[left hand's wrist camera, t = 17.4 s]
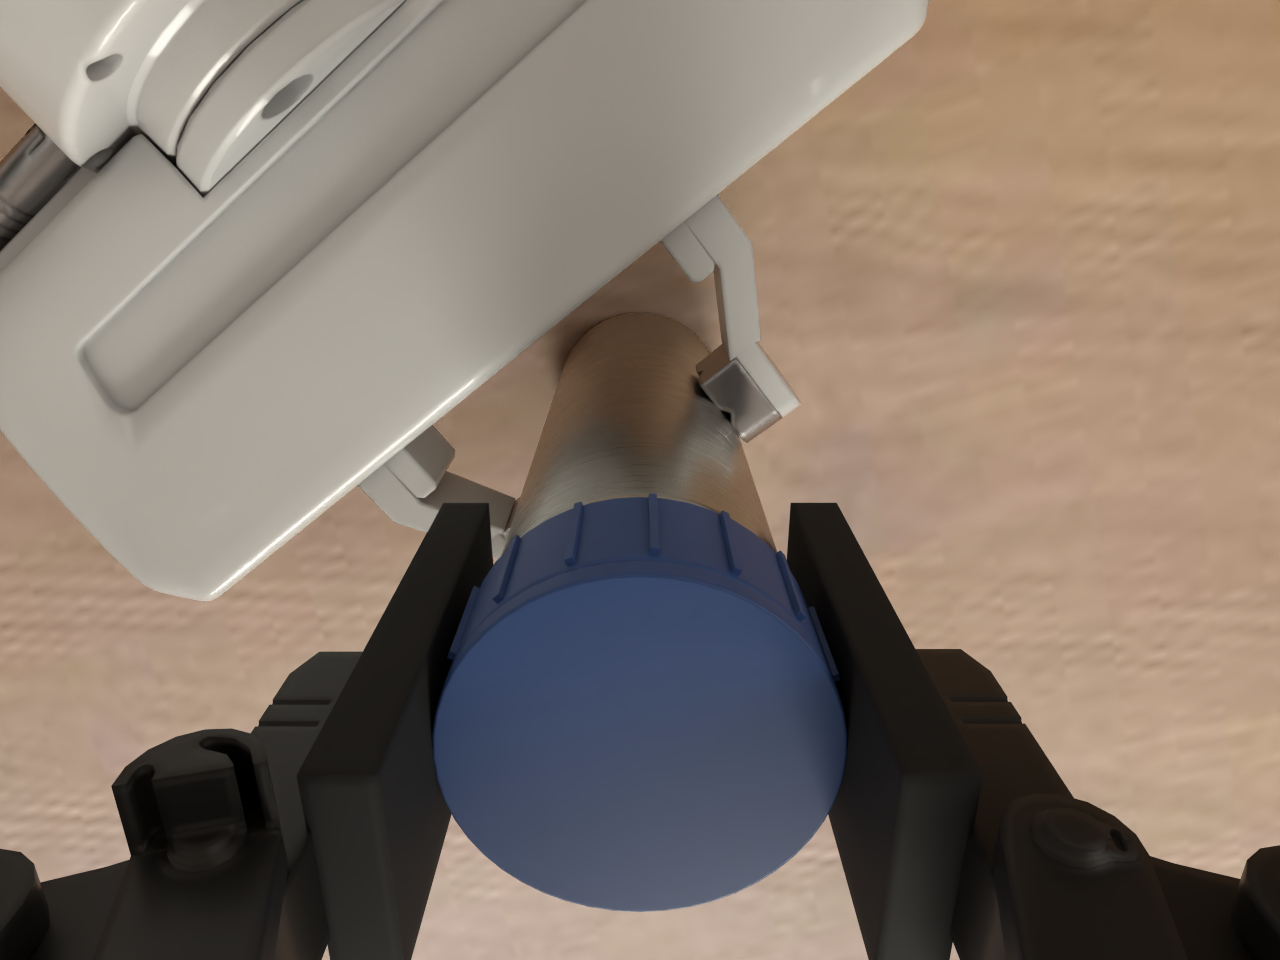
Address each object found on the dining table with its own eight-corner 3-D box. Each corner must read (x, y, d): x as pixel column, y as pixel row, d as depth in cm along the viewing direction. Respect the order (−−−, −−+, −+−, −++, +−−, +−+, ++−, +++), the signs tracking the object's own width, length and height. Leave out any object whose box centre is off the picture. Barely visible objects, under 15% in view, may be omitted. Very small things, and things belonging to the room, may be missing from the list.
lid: (711, 425, 11) (729, 493, 9) (872, 707, 13) (918, 819, 11) (393, 596, 12) (341, 694, 10) (581, 838, 14) (570, 966, 12)
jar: (696, 479, 26) (764, 892, 12) (546, 446, 26) (430, 831, 12) (737, 332, 25) (875, 606, 10) (578, 295, 24) (489, 524, 10)
